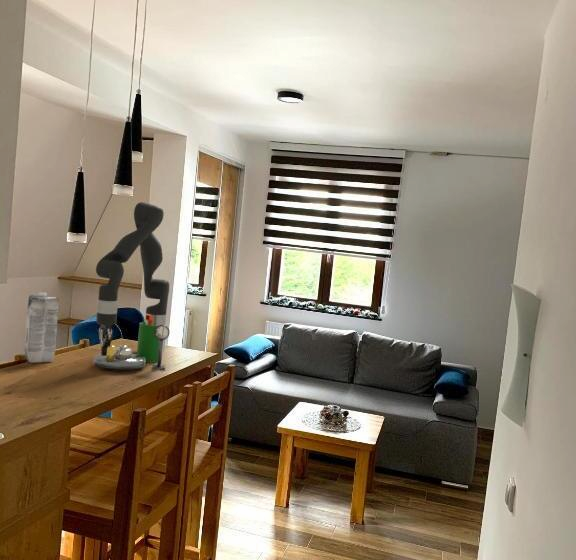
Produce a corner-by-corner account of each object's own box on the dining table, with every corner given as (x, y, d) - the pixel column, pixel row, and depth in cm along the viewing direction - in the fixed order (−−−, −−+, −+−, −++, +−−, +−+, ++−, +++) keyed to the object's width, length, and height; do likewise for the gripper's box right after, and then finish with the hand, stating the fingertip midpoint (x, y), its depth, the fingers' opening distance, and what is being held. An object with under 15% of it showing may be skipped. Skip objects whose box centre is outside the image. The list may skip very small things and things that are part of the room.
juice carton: (55, 362, 246) (60, 294, 245) (27, 363, 240) (32, 294, 239) (49, 358, 254) (54, 292, 252) (22, 358, 248) (27, 291, 246)
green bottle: (162, 359, 272) (166, 314, 271) (156, 363, 263) (160, 316, 262) (140, 356, 273) (143, 311, 272) (132, 360, 264) (136, 313, 263)
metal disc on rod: (151, 366, 256) (155, 323, 255) (166, 367, 257) (170, 324, 256) (151, 369, 251) (154, 325, 250) (166, 370, 252) (170, 326, 251)
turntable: (108, 356, 261) (110, 336, 260) (153, 362, 257) (155, 342, 257) (83, 364, 241) (85, 343, 241) (131, 371, 238) (133, 349, 237)
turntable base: (118, 363, 256) (118, 360, 256) (137, 367, 252) (137, 365, 252) (100, 366, 247) (101, 363, 247) (120, 371, 243) (120, 368, 243)
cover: (111, 355, 251) (112, 343, 251) (129, 355, 254) (130, 344, 254) (115, 359, 245) (116, 347, 245) (133, 359, 248) (134, 347, 248)
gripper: (121, 314, 239) (118, 359, 240) (112, 308, 250) (109, 351, 252) (101, 314, 235) (98, 359, 236) (92, 308, 246) (90, 351, 248)
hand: (104, 355), depth 244 cm, fingers closed
